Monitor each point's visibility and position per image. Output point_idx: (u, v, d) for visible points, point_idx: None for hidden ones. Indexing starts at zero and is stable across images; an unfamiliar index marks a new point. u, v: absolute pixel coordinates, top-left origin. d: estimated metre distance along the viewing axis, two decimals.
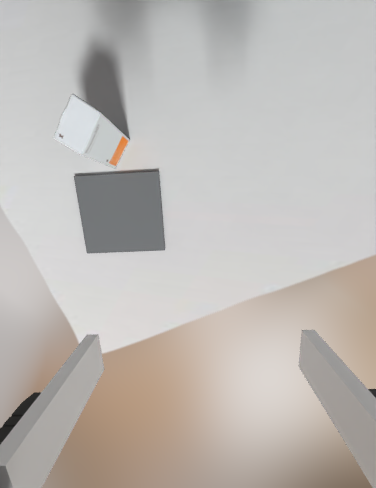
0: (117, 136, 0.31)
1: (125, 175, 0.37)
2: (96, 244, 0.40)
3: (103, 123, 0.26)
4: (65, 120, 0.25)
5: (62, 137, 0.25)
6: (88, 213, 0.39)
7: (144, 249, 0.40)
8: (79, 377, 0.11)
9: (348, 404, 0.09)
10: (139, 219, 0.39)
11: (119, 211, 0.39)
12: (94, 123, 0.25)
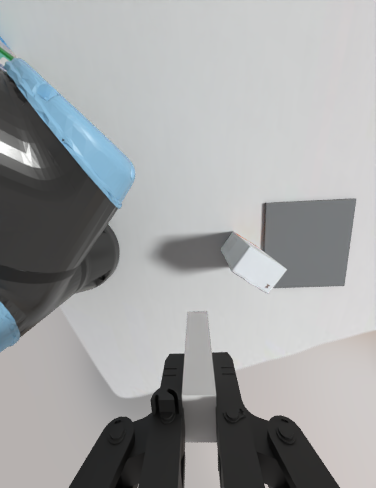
0: (244, 239, 0.31)
1: (267, 238, 0.36)
2: (335, 274, 0.37)
3: (252, 246, 0.26)
4: (254, 279, 0.26)
5: (268, 285, 0.26)
6: (301, 278, 0.38)
7: (351, 222, 0.35)
8: None
9: None
10: (315, 226, 0.35)
11: (303, 247, 0.36)
12: (258, 253, 0.25)
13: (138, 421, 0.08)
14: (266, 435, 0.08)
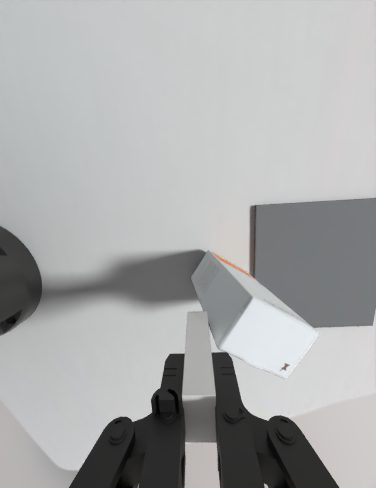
0: (229, 267, 0.19)
1: (258, 258, 0.24)
2: (360, 310, 0.25)
3: (252, 291, 0.14)
4: (261, 359, 0.13)
5: (287, 364, 0.13)
6: (309, 315, 0.25)
7: None
8: None
9: None
10: (331, 240, 0.23)
11: (313, 271, 0.24)
12: (270, 309, 0.12)
13: (138, 421, 0.08)
14: (266, 435, 0.08)
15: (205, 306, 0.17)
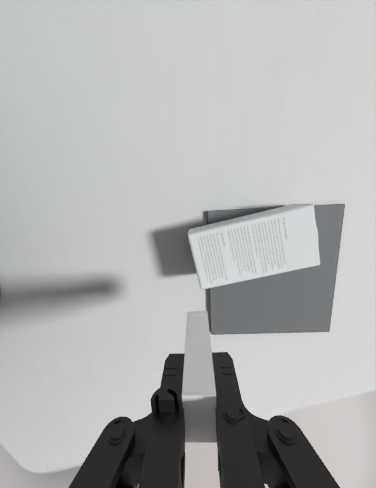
0: None
1: None
2: (316, 316, 0.25)
3: None
4: None
5: None
6: (265, 321, 0.25)
7: (337, 240, 0.23)
8: None
9: None
10: None
11: (267, 276, 0.24)
12: None
13: (138, 421, 0.08)
14: (266, 435, 0.08)
15: (263, 215, 0.19)
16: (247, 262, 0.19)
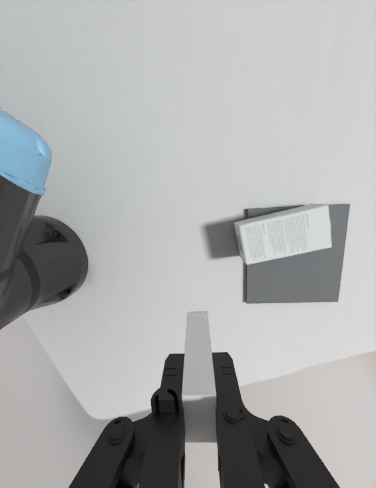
0: None
1: None
2: (328, 289, 0.33)
3: None
4: None
5: None
6: (289, 293, 0.33)
7: (344, 231, 0.31)
8: None
9: None
10: None
11: (290, 258, 0.32)
12: None
13: (138, 421, 0.08)
14: (266, 435, 0.08)
15: (292, 212, 0.27)
16: (280, 245, 0.28)
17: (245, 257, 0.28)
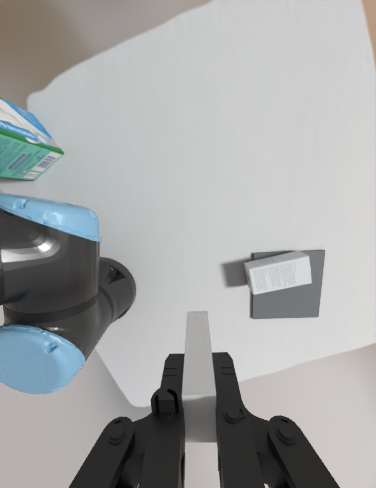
0: None
1: None
2: (311, 308, 0.46)
3: None
4: None
5: None
6: (283, 311, 0.46)
7: (321, 268, 0.44)
8: None
9: None
10: None
11: None
12: None
13: (138, 421, 0.08)
14: (266, 435, 0.08)
15: (285, 259, 0.40)
16: (276, 281, 0.40)
17: (253, 289, 0.41)
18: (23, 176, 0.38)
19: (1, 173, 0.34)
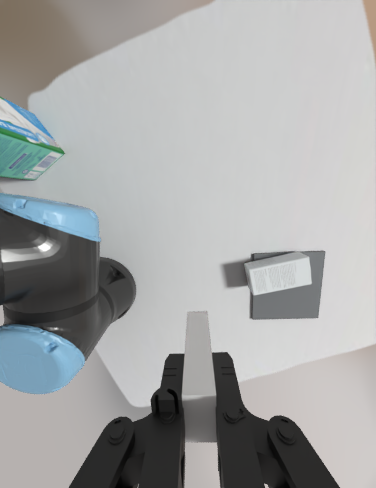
0: None
1: None
2: (310, 309, 0.46)
3: None
4: None
5: None
6: (283, 312, 0.46)
7: (321, 269, 0.44)
8: None
9: None
10: None
11: None
12: None
13: (138, 421, 0.08)
14: (266, 435, 0.08)
15: (285, 260, 0.40)
16: (276, 282, 0.40)
17: (253, 290, 0.41)
18: (24, 176, 0.38)
19: (2, 173, 0.34)
